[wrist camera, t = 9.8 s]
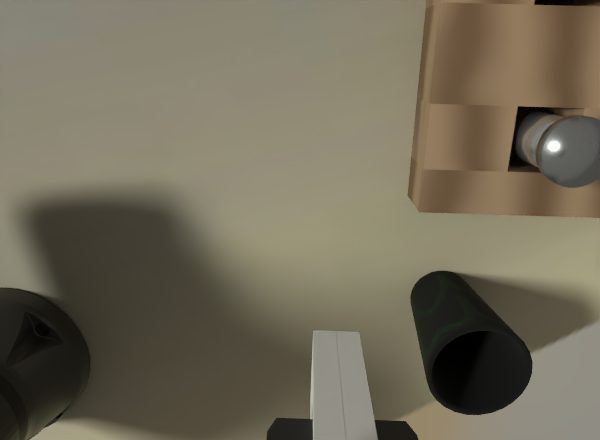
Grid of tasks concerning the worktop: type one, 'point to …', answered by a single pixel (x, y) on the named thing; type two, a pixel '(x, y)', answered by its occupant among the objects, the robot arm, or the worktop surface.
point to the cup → (467, 347)
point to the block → (500, 103)
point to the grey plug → (559, 146)
